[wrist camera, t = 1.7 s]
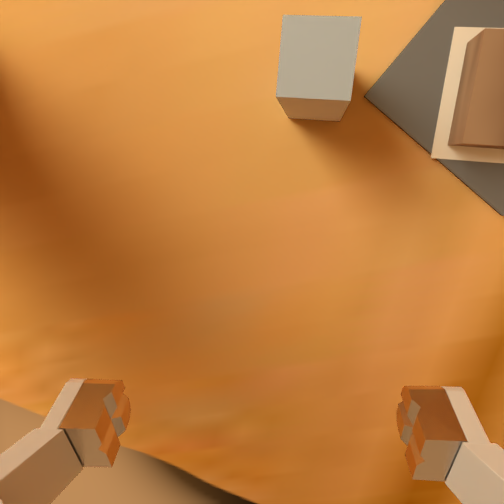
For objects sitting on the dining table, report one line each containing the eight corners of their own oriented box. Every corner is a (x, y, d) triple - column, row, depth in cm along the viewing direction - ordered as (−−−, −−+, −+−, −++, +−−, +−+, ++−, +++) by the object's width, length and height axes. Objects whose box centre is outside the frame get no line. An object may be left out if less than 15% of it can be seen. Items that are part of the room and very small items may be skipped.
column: (288, 118, 30) (276, 96, 21) (293, 63, 29) (282, 14, 20) (339, 121, 30) (350, 100, 20) (346, 65, 29) (361, 16, 19)
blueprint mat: (361, 99, 29) (362, 98, 29) (492, -57, 26) (495, -60, 25) (501, 220, 29) (503, 220, 29) (648, 82, 26) (653, 81, 26)
